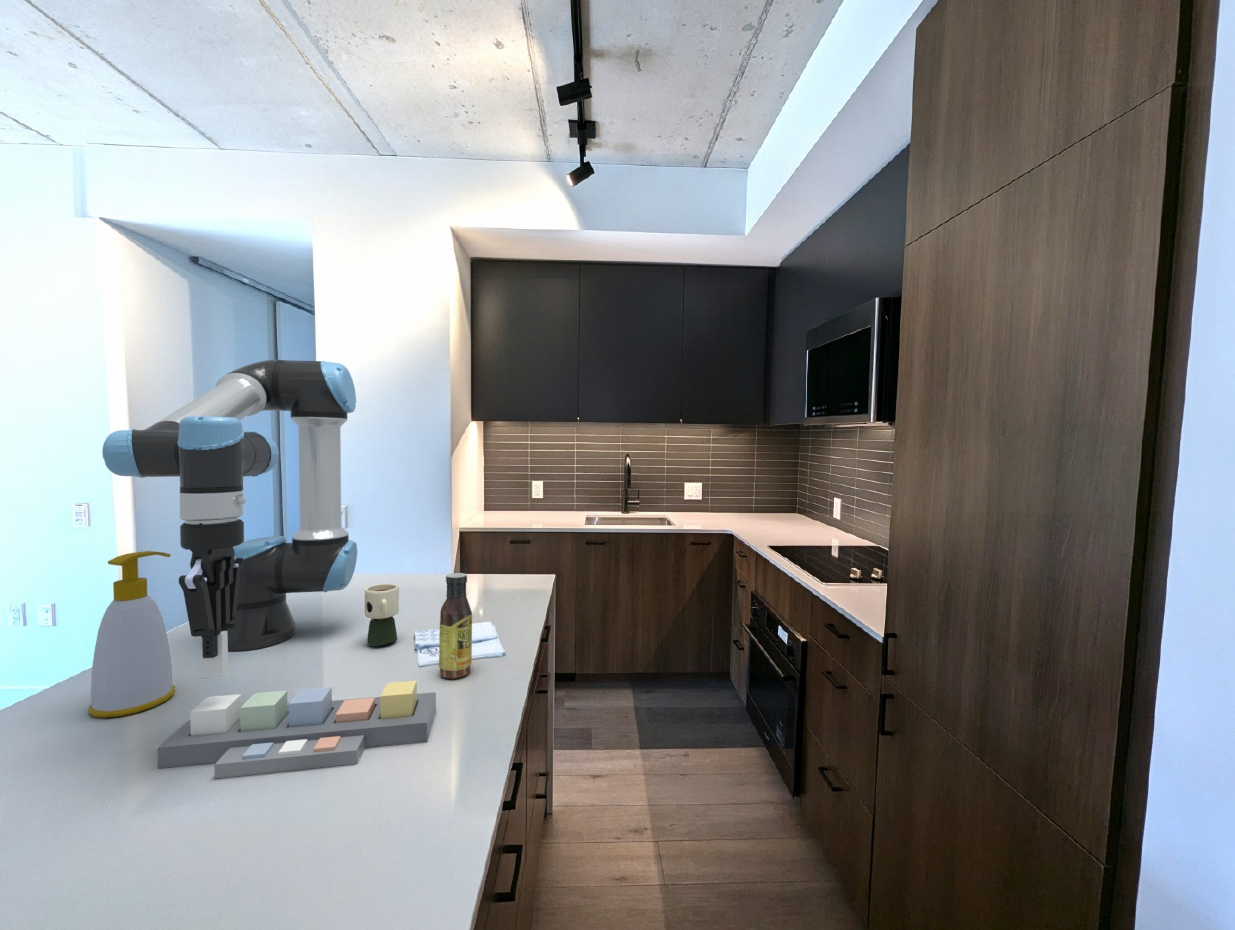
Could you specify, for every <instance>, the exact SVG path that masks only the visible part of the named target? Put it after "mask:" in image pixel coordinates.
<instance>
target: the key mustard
mask: <svg viewBox="0 0 1235 930" xmlns="http://www.w3.org/2000/svg"><path fill="white" fill-rule="evenodd" d="M417 684H418V683H417V680H409V681H408V680H407V681H396V682H393V681H392V682H386V685H385V686H384V689H383V691H382V692H381V695H380V697H381V719H387V718H398V717H409V716H413V713H414V710H415V708H416V705H417V694H418V693H417V692H418V691H417V689H418V687H417Z"/></svg>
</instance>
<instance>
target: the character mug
mask: <svg viewBox="0 0 1235 930" xmlns="http://www.w3.org/2000/svg"><path fill="white" fill-rule="evenodd" d="M399 592H400V587H399V585H398V584H397V583H396V584H395V583H379V584H377V583H376V584H373V585H368V586H367V587H365V589H364V615H365V617H366V618H369V619H370V621H369V625H368V632H367V641H366V642H367V645H369V646H372V647H378V646H385V645H387V644H391V643H393V642H396V641H397V640H398V635H397V634H398V633H397V626H396V621H395V618H394V616H396V615H398V614H399V611H400V596H399V595H400V593H399Z"/></svg>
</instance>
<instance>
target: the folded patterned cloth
mask: <svg viewBox="0 0 1235 930" xmlns="http://www.w3.org/2000/svg"><path fill="white" fill-rule="evenodd" d="M413 632H414V633H413V636H414V647H413V648H414V649H416V650H415V651H414V653H413V654H416V655H417V666H418V668H423V667H430V666H435V665H436V666H437V665H439V637H440V627H439V628H434V629H424V630H416V631H413ZM499 637H500V636H499V635H498V632H497V628H496V625H495V624H493V623H492V621H483V622H474V623H472V661H473V660H481V659H489V658H490V659H491V658H492V659H493V658H502V657H503V656H507V655H506V653H507V652H506V651H505V649H504V647H503V645H502V642H501V640H500V638H499Z"/></svg>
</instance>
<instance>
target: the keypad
mask: <svg viewBox="0 0 1235 930" xmlns="http://www.w3.org/2000/svg"><path fill="white" fill-rule="evenodd" d="M365 698H366V697H362V698H360V697H359V698H358V699H365ZM370 698H375V709H374V711H373V713H372V715H371V717H370V719H369V720H365V721H354V722H342V723H336V717H335V715H336V713H337V711H338V710H339V708H340V707H341V705H342V704H343V702H344V700H345V699H338V700H332V712H331V714H330V715H329V717H328V718H327V720H326V721H325V723H324V724H320V725H309V726H298V727H289V703H288V715H287V716H286V717H285V718H284V720H283V721H282V722H281V723H280V725H279V726H278V727H277V728H276V729H265V730H254V731H243V732H241V720H239V721H238V723H237V724H236V725H235V726H234V727H233V728H232V729H231V730H230V731H229V732H228V733H221V734H209V735H198V736H191V722H190V719H188V720H187V721H186V722H185V723H184V724H182V726H181V727H179V728H178V729H176V731H175V732H174V733H172V734H171V735H170V736H169V737H168V738H166V739H165V740H164V741H163V742H162V743H160V744H159V746H158V747H157V750H156V751H157V752H156V753H157V769H165V768H177V767H185V766H194V765H195V766H196V765H206V764H207V765H209V764H214V780H218V779H225V778H226V779H227V778H234V777H244V776H251V775H252V776H253V775H264V774H265V775H266V774H271V773H272V774H274V773H275V774H276V773H283V772H290V771H303V770H310V769H311V770H312V769H321V768H329V767H338V766H349V765H357V764H358V763H359V760H360V758H361V756H362V754H363V751H365V749H366V748H374V747H375V748H376V747H377V748H378V747H384V746H385V747H386V746H394V745H395V746H396V745H406V744H407V745H409V744H414V743H426V742H428V739H429V735H430V732H431V729H432V726H433V725H432V724H433V722H434V718H435V714H436V710H437V692H436V691H434V692H422V693H417V705H416V708H415V710H414V713H413V716H409V717H398V718H387V719H381V696H373V697H371V696H370ZM352 699H353V698H350V699H349V698H346V700H352Z"/></svg>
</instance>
